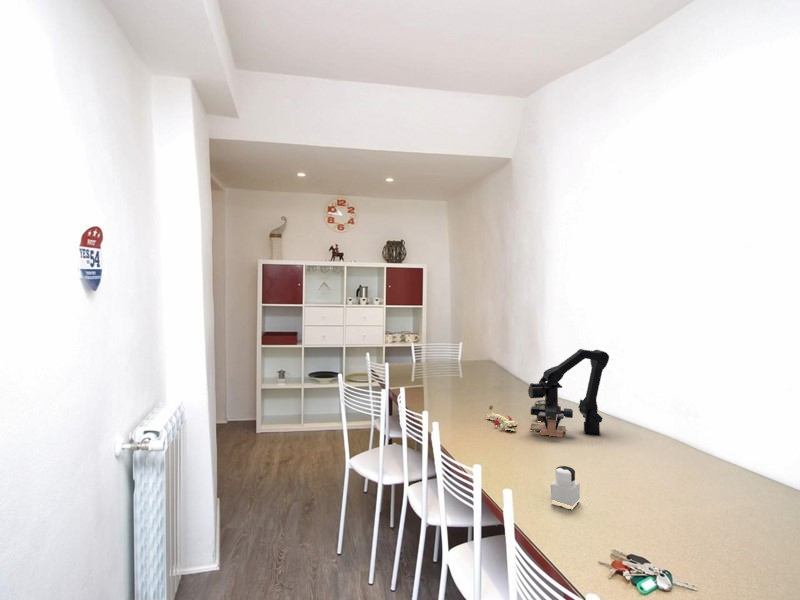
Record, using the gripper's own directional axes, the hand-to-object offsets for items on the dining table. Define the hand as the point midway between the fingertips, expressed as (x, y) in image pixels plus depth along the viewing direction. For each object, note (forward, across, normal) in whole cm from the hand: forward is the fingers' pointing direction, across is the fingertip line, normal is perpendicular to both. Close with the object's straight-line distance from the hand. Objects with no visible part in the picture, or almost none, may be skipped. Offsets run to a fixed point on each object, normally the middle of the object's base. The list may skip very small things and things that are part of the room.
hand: (551, 429), depth 222 cm
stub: (+2, 0, 0) cm, 2 cm away
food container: (+3, -4, +22) cm, 23 cm away
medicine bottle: (+3, +7, -68) cm, 68 cm away
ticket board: (+2, -2, +6) cm, 7 cm away
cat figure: (+3, -24, +8) cm, 26 cm away
